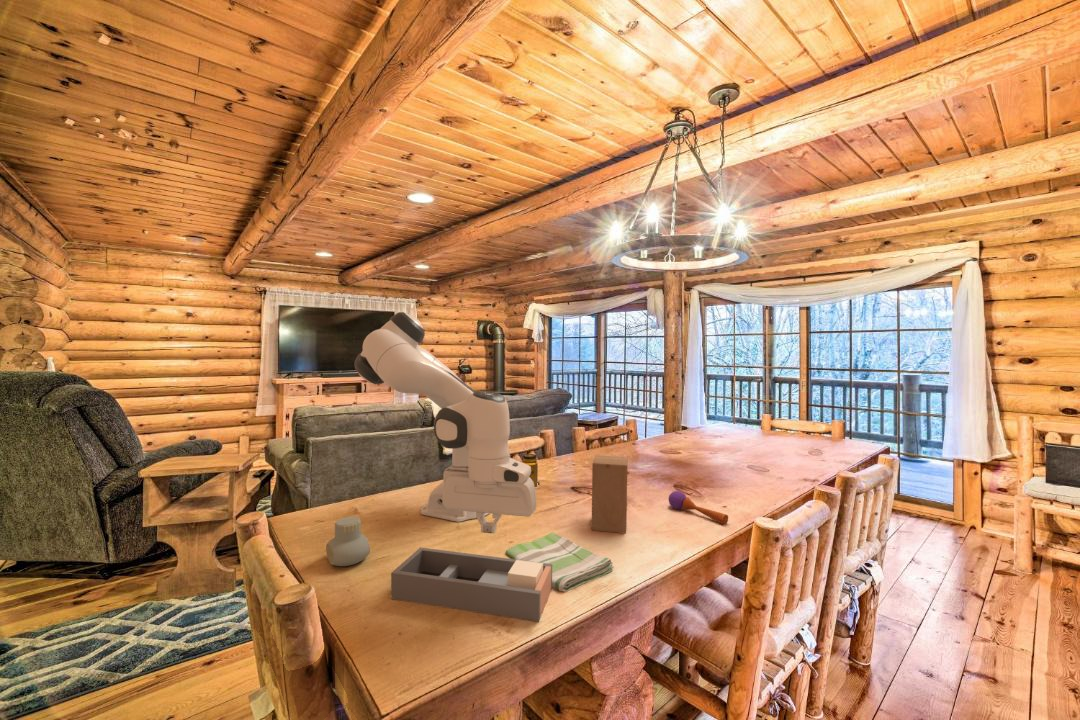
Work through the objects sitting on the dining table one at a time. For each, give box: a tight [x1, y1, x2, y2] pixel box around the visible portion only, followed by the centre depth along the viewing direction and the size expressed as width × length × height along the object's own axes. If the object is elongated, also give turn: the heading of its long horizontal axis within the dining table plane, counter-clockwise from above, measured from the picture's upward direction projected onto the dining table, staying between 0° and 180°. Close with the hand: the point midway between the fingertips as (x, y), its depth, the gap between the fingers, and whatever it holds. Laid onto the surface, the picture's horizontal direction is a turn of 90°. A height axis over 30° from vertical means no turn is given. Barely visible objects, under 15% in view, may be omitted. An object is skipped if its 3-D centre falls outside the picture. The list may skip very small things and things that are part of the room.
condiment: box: [522, 453, 541, 487], centre depth 173 cm, size 7×8×12 cm
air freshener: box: [325, 516, 371, 567], centre depth 110 cm, size 11×8×10 cm
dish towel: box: [505, 531, 614, 593], centre depth 111 cm, size 17×23×4 cm
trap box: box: [390, 547, 553, 623], centre depth 96 cm, size 32×12×6 cm, turn 77°
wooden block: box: [590, 454, 629, 534], centre depth 134 cm, size 10×10×20 cm
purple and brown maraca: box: [668, 490, 729, 526], centre depth 144 cm, size 6×6×20 cm
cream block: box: [508, 560, 543, 590], centre depth 94 cm, size 6×6×4 cm
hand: (488, 532), depth 96 cm, fingers closed
